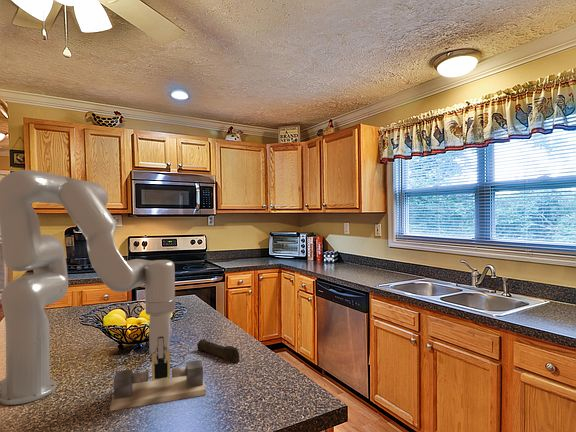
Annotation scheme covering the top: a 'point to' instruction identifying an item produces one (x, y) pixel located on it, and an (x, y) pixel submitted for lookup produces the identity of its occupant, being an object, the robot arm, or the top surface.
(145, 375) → the shaft mount
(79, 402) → the top surface
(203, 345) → the hand tool
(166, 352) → the yellow rectangular block
